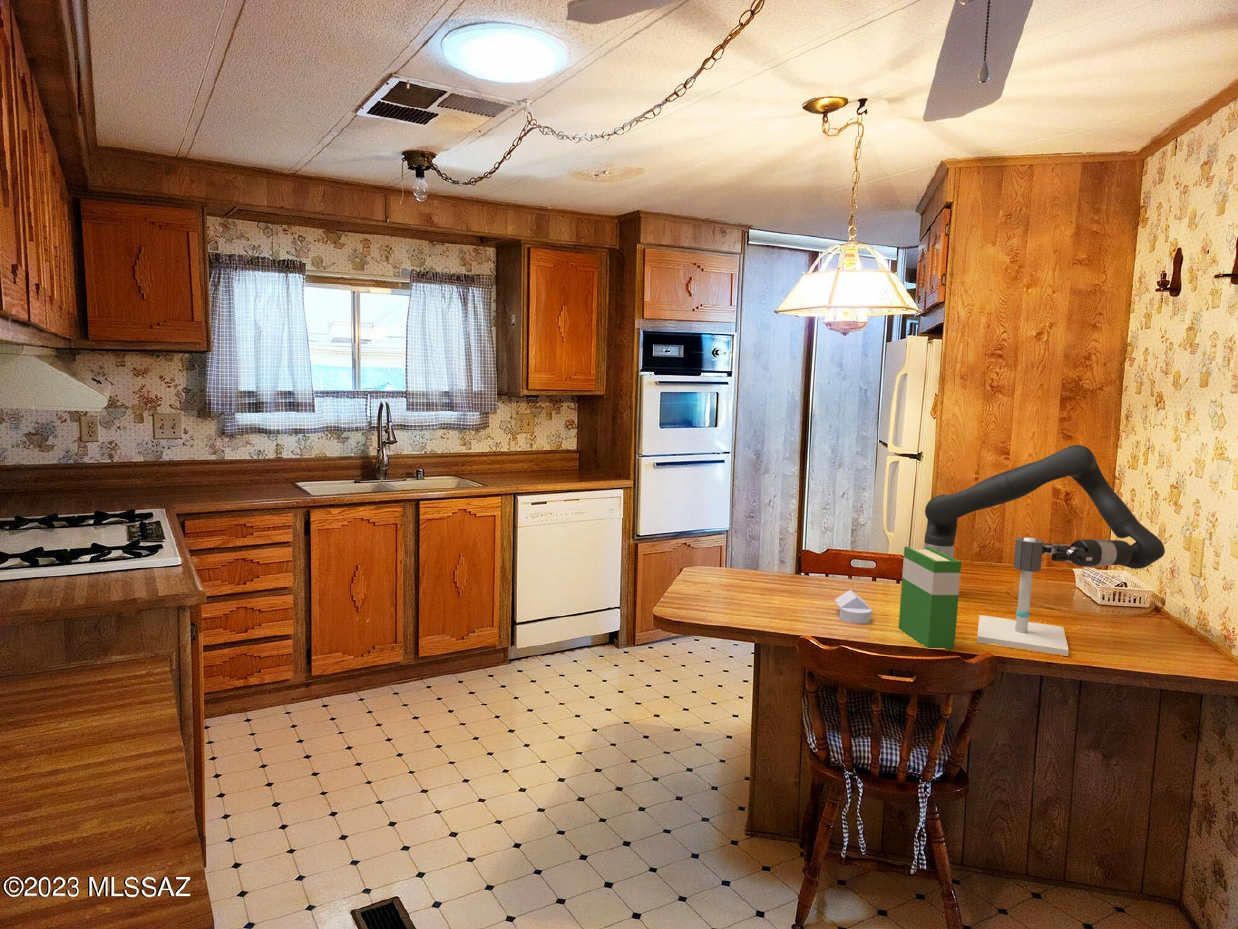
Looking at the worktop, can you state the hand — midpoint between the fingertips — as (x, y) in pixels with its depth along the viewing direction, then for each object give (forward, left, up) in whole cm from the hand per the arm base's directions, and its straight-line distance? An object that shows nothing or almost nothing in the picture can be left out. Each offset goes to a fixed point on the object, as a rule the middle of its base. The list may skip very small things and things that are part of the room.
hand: (1041, 553), depth 226 cm
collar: (-3, -2, -4) cm, 6 cm away
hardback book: (-27, -16, -25) cm, 40 cm away
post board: (-3, -2, -24) cm, 25 cm away
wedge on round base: (-48, -7, -25) cm, 55 cm away
